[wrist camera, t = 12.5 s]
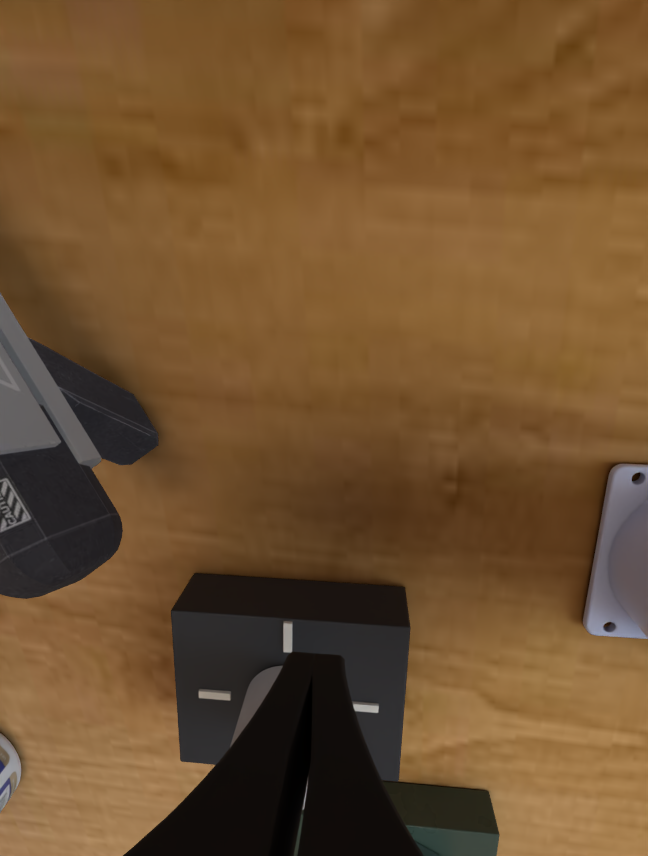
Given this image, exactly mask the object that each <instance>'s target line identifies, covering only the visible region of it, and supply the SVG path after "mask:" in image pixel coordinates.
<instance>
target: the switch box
mask: <svg viewBox="0 0 648 856" xmlns="http://www.w3.org/2000/svg"><path fill="white" fill-rule="evenodd" d="M383 783H384V786H385V788H386V790H387V792H388V794H389V796H390V798H391V800H392V802H393V803H394V805H395V807H396V809H397V811H398V813H399V815H400V817H401V819H402V820H403V822H404V824H405V826H406V827H407V829H408V831H409V832H410V834H411V836H412V837H413V839H414V841H415V842H416V844H417V846H418V847H419V849H420V851H421V852H422V854H423V856H496V854H497V847H498V841H499V831H498V827H497V823H496V819H495V815H494V811H493V807H492V803H491V799H490V795H489V792H488V791H482V790H471V789H461V788H450V787H439V786H429V785H418V784H407V783H397V782H386V781H383ZM303 814H304V809H303V810H302V814H301V820H300V825H299V830H298V836H297V841H296V846H295V852H294V856H297V855H298V848H299V842H300V835H301V828H302V821H303Z"/></svg>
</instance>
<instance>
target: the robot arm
mask: <svg viewBox="0 0 648 856" xmlns="http://www.w3.org/2000/svg"><path fill="white" fill-rule="evenodd" d="M639 472H640V477H639V479H637V480H636V481H632V476H633V475H634V474H635V473H639ZM607 622H611V624H610V625H609V626H606V627H604V624H606V623H607ZM583 625H584V627H585V628H586V630H587V631H588V632H589V633H590V634H592V635H598V636H612V637H626V638H641V639H648V465H643V464H618V465H616V466H614V467H613V468H612V469H611V471H610V473H609V477H608V483H607V488H606V494H605V499H604V505H603V511H602V516H601V522H600V527H599V533H598V539H597V544H596V550H595V555H594V561H593V567H592V572H591V578H590V583H589V589H588V595H587V600H586V606H585V611H584V617H583ZM307 782H308V785H307ZM306 788H307V792H306ZM305 793H306V800H305V807H304V814H303V821H302V828H301V835H300V842H299V848H298V855H297V856H423V854H422V852H421V851H420V849H419V847H418V846H417V844H416V842H415V841H414V839H413V837H412V836H411V834H410V832H409V831H408V829H407V827H406V826H405V824H404V822H403V820H402V819H401V817H400V815H399V813H398V811H397V809H396V807H395V805H394V803H393V802H392V800H391V798H390V796H389V794H388V792H387V790H386V788H385V786H384V783H383V781H382V779H381V777H380V775H379V773H378V771H377V768H376V766H375V764H374V761H373V759H372V757H371V754H370V752H369V749H368V747H367V744H366V742H365V739H364V736H363V733H362V731H361V728H360V725H359V722H358V719H357V716H356V713H355V710H354V706H353V703H352V699H351V696H350V691H349V687H348V683H347V678H346V671H345V659H344V658H343V657H342V656H341V655H333V654H319V653H304V652H291V653H290V654H289V655H288V656H287V658H286V660H285V663H284V665H283V667H282V669H281V671H280V673H279V674H278V676H277V678H276V680H275V682H274V683H273V685H272V687H271V689H270V690H269V692H268V694H267V695H266V697H265V698H264V700H263V701H262V703H261V705H260V706H259V708H258V709H257V711H256V712H255V714H254V715H253V717H252V718H251V720H250V721H249V723H248V724H247V725H246V727H245V728H244V729H243V731H242V732H241V734H240V735H239V736H238V738H237V739H236V740H235V742H234V743H233V744H232V746H231V747H230V748H229V750H228V751H227V752H226V753H225V755H224V756H223V757H222V758H221V759H220V761H219V762H218V763H217V764H216V765H215V767H214V768H213V769H212V770H211V771H210V772H209V774H208V775H207V776H206V777H205V778H204V779H203V780H202V781H201V782H200V784H199V785H198V786H197V787H196V788H195V789H194V790H193V791H192V792H191V793H190V794H189V795H188V796H187V797H186V798H185V799H184V800H183V802H182V803H180V804H179V805H178V806H177V807H176V808H175V809H174V810H173V811H172V812H171V813H170V814H169V815H168V816H167V817H166V818H165V819H164V820H163V821H162V822H161V823H159V824H158V825H157V826H156V827H155V828H154V829H153V830H152V831H151V832H149V833H148V834H147V835H146V836H145V837H144V838H143V839H142V840H141V841H139V842H138V843H137V844H136V845H135V846H134V847H133V848H132V849H130V850H129V851H128V852H127V853H126V854H124V855H123V856H294V852H295V846H296V841H297V836H298V830H299V825H300V820H301V814H302V809H303V804H304V798H305Z"/></svg>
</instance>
